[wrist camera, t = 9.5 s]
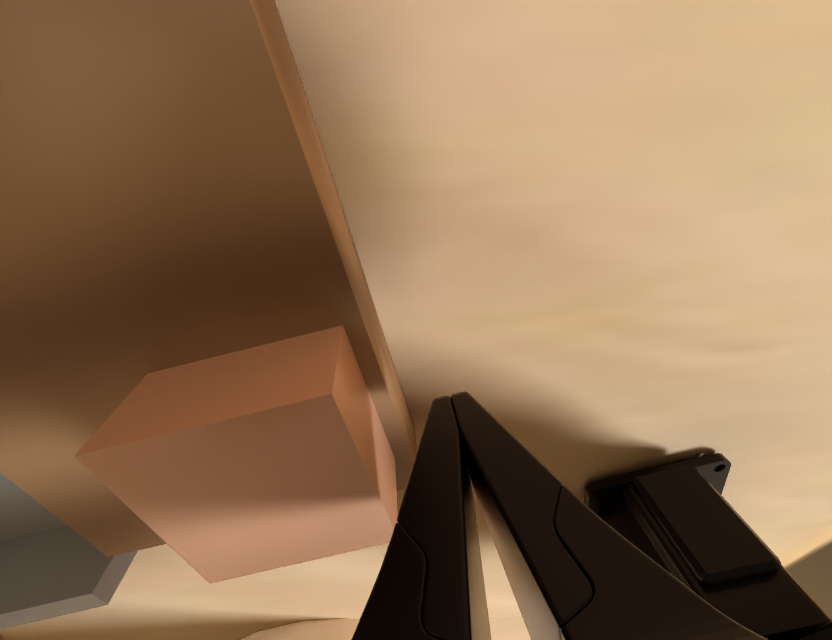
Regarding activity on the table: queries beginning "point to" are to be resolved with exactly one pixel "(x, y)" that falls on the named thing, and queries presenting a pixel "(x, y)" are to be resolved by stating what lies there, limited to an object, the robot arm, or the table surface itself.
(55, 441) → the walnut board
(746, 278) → the table surface
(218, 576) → the terracotta tile
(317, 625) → the canister
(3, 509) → the grey tray
